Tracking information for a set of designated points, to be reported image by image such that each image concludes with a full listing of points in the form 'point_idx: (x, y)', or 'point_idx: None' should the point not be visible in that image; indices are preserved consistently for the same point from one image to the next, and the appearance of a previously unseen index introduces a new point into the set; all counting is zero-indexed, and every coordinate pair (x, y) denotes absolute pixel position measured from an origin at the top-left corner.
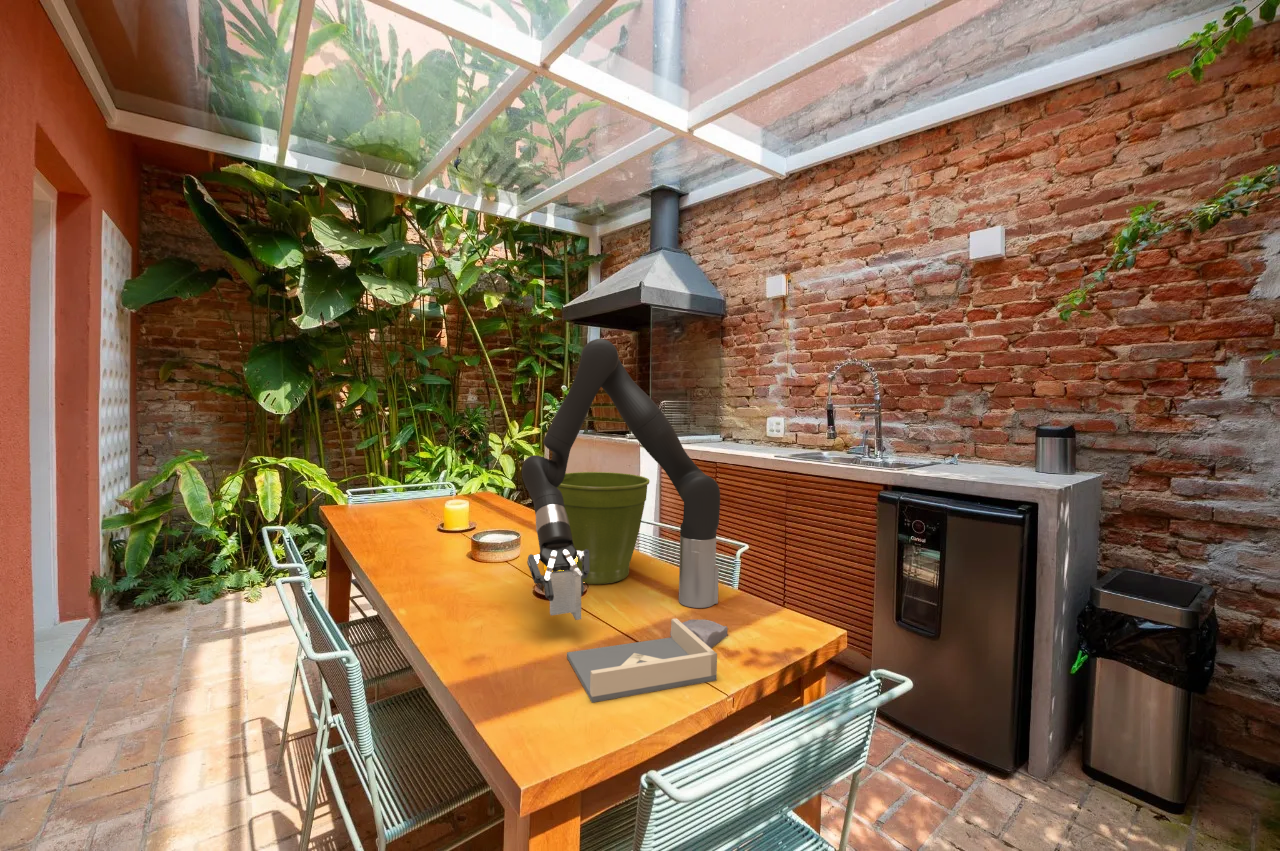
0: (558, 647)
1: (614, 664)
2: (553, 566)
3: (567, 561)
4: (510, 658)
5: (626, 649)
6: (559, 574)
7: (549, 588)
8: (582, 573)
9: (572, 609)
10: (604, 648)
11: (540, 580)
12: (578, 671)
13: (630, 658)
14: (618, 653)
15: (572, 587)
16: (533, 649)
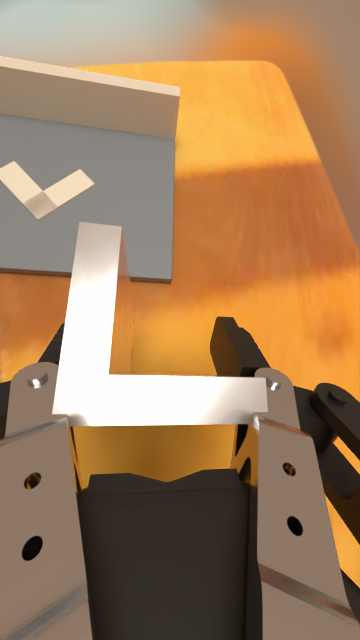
0: (174, 333)
1: (99, 198)
2: (244, 483)
3: (81, 529)
4: (273, 319)
5: (43, 244)
6: (196, 376)
7: (243, 338)
8: (2, 398)
9: (130, 346)
10: None
11: (302, 389)
12: (172, 202)
13: (58, 201)
14: (69, 235)
15: (124, 327)
16: None
